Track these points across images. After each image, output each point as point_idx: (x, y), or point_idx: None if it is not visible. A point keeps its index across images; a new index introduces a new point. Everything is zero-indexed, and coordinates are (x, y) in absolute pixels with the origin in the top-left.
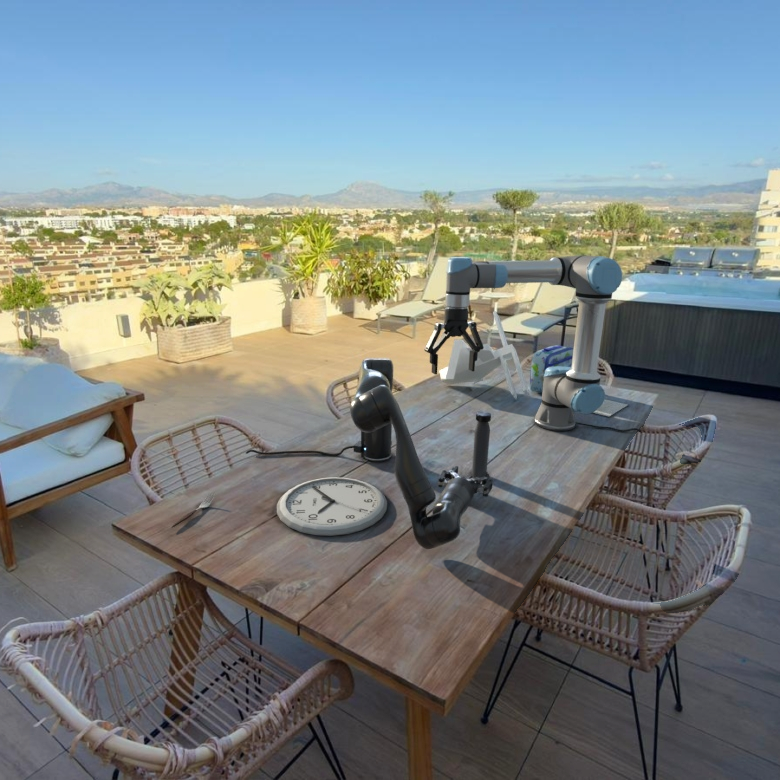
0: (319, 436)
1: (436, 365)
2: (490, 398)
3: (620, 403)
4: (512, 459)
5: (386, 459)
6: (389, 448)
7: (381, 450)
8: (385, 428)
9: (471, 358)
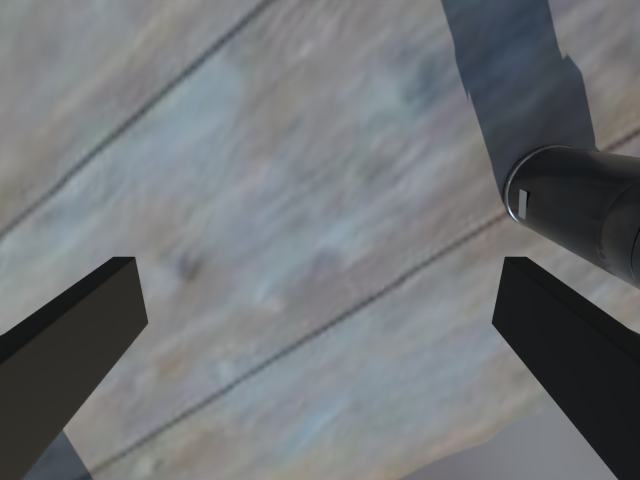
0: None
1: (573, 300)
2: (42, 463)
3: None
4: (147, 23)
5: (540, 148)
6: (545, 160)
7: (581, 149)
8: (631, 161)
9: (60, 366)
